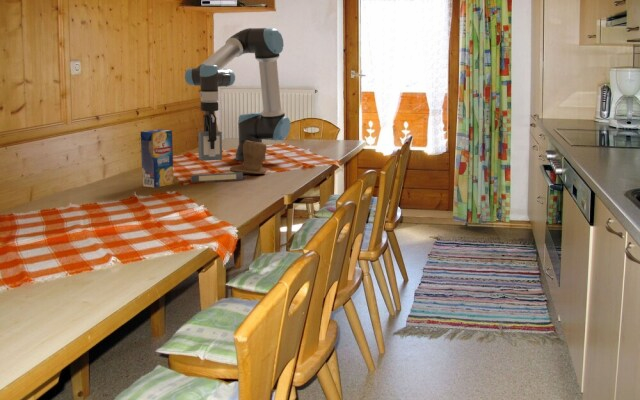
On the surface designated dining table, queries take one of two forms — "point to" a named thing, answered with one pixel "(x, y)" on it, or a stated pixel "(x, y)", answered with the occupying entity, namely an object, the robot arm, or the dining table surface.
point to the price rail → (216, 177)
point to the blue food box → (157, 158)
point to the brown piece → (251, 158)
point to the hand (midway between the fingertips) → (210, 155)
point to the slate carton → (205, 146)
